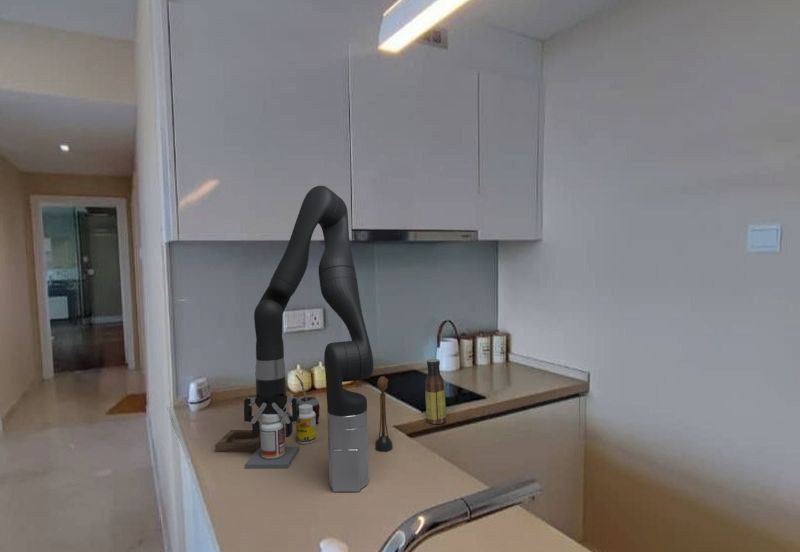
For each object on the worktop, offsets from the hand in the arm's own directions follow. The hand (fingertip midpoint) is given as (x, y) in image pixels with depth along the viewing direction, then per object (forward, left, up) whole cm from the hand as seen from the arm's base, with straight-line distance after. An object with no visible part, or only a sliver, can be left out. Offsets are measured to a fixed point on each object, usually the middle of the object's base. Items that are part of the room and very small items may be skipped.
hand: (272, 436), depth 123 cm
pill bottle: (0, 0, -5) cm, 5 cm away
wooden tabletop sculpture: (+7, -29, -6) cm, 30 cm away
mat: (0, 0, -6) cm, 6 cm away
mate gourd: (+26, -3, -6) cm, 27 cm away
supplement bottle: (+12, -6, -6) cm, 15 cm away
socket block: (+10, +12, -6) cm, 17 cm away
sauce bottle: (+27, -44, -6) cm, 52 cm away
